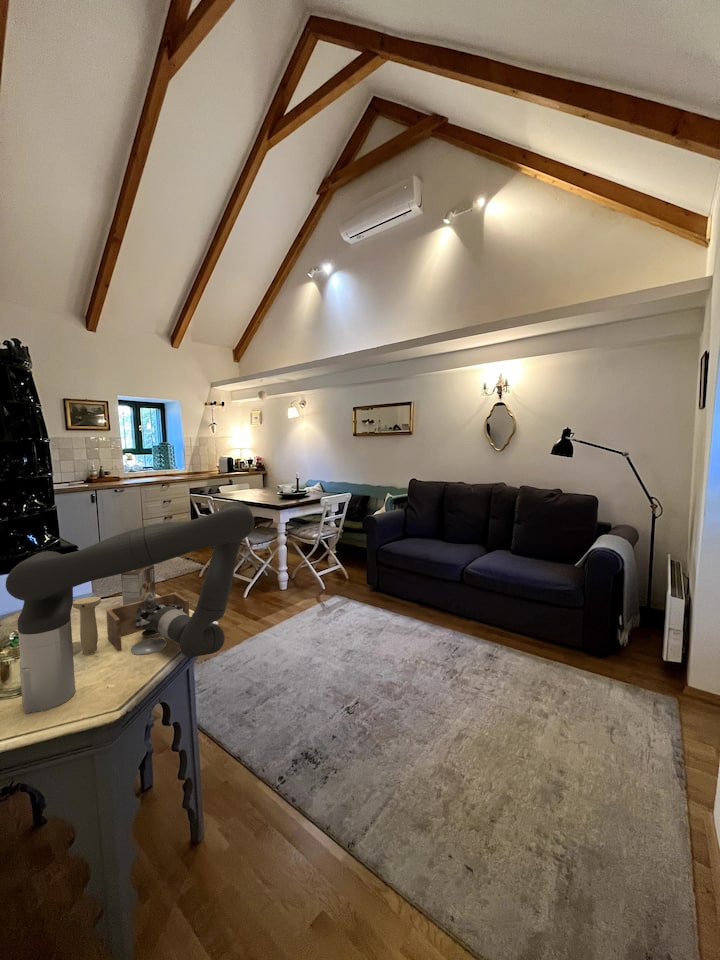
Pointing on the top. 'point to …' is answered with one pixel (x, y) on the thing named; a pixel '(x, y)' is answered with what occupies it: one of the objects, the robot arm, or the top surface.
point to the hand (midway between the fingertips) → (146, 608)
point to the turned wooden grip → (88, 623)
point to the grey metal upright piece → (149, 605)
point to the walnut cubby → (124, 617)
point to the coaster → (148, 646)
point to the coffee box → (138, 585)
